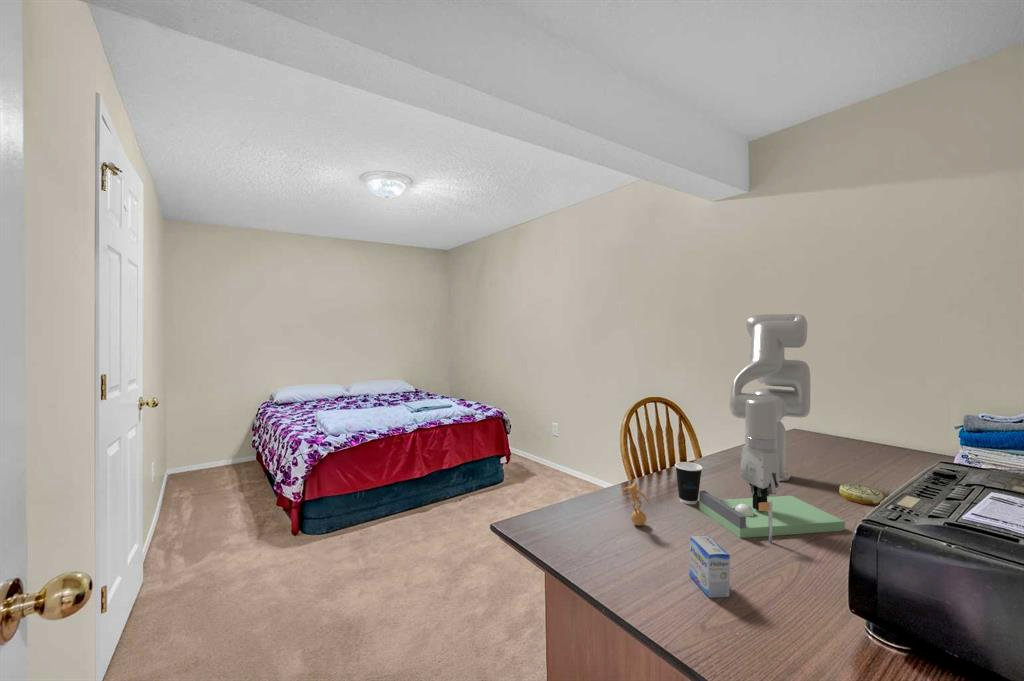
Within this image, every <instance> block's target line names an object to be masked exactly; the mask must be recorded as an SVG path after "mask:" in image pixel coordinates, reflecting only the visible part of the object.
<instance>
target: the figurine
mask: <svg viewBox="0 0 1024 681" xmlns="http://www.w3.org/2000/svg"><path fill="white" fill-rule="evenodd" d="M627 490H628V492H629V494H630V496H629V497H630V499H631V501H632V502H633V503H632V508H633V512H632V513H631V515H630V518H631V519H630V520H631V521H632V523H633V524H634V525H635V526H638V527H639V526H640V527H641V526H644V525H645V524H646V522H647V515H646V514H645V512H644V511H643V510H640V508H641V507H642V504H643V502H642V499H640V497H639V496H638V495H639V494H640V496H642V497H643V498H644V500H645V501H647V502H648V504H649V505H651V502H650V501H649V498H648V497H646V495H645V494H644V493H643V492H641V490H639V489H638V484H637V482H635V481H634V482H633V483H632V485H631V486H626V487H624V488H622V495H621V496H622V497H624V496H625V494H626V493H625V491H627ZM636 503H638V505H637V508H636V507H635V506H636Z"/></svg>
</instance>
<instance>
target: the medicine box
mask: <svg viewBox="0 0 1024 681" xmlns="http://www.w3.org/2000/svg"><path fill="white" fill-rule="evenodd" d="M688 566H689V569H688V570H689V572H688V575H689V577H690V579H691V580H692V581H693V582H694V583H695V584H696V585H697V587H699V588H700V589H701V590H702V592H703V593H704V594H705V595H706V596H707V597H708V598H709V599H713V598H730V587H731V586H730V580H731V579H730V576H731V575H730V572H731V555H730V554H729V553H728V552H727V551H726V550H725V549H723V547H721V545H719V544H718V543H717V542H715V540H714V539H712V538H711V537H710V536H708V535H697V536H696V535H695V536H690V537H689V565H688Z"/></svg>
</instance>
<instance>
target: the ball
mask: <svg viewBox="0 0 1024 681" xmlns="http://www.w3.org/2000/svg"><path fill="white" fill-rule="evenodd" d="M735 510H736V511H738V512H740V513H741V514H743V515H744V516H746V517H753V510H752V509H751V507H750V506H748V505H746V504H739V505H737V506H736V508H735Z"/></svg>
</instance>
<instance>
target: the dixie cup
mask: <svg viewBox="0 0 1024 681" xmlns="http://www.w3.org/2000/svg"><path fill="white" fill-rule="evenodd" d="M674 467H675V471H676V472H675V473H676V482H677V489H678V490H677V491H678V498H679V501H680V502H681V503H682V504H685V505H696V504H697V503H698V500H699V495H700V486H701V477H702V470H703V466H702V465H701V464H698V463H695V462H688V461H680V462H679V461H678V462H676V463H675V464H674Z"/></svg>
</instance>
